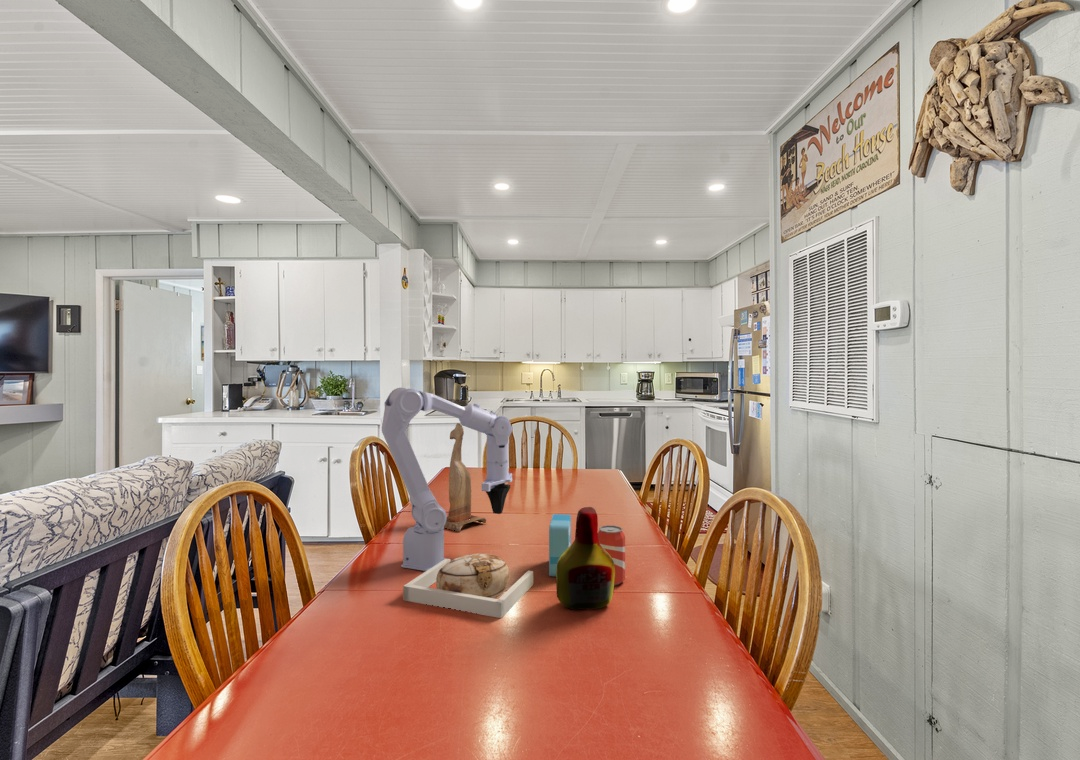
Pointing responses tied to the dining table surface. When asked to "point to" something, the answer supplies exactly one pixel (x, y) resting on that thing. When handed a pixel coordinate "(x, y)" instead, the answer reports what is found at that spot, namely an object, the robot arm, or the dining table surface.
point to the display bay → (464, 602)
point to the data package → (558, 539)
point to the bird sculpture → (459, 487)
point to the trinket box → (474, 575)
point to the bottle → (585, 567)
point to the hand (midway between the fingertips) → (497, 513)
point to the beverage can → (614, 548)
